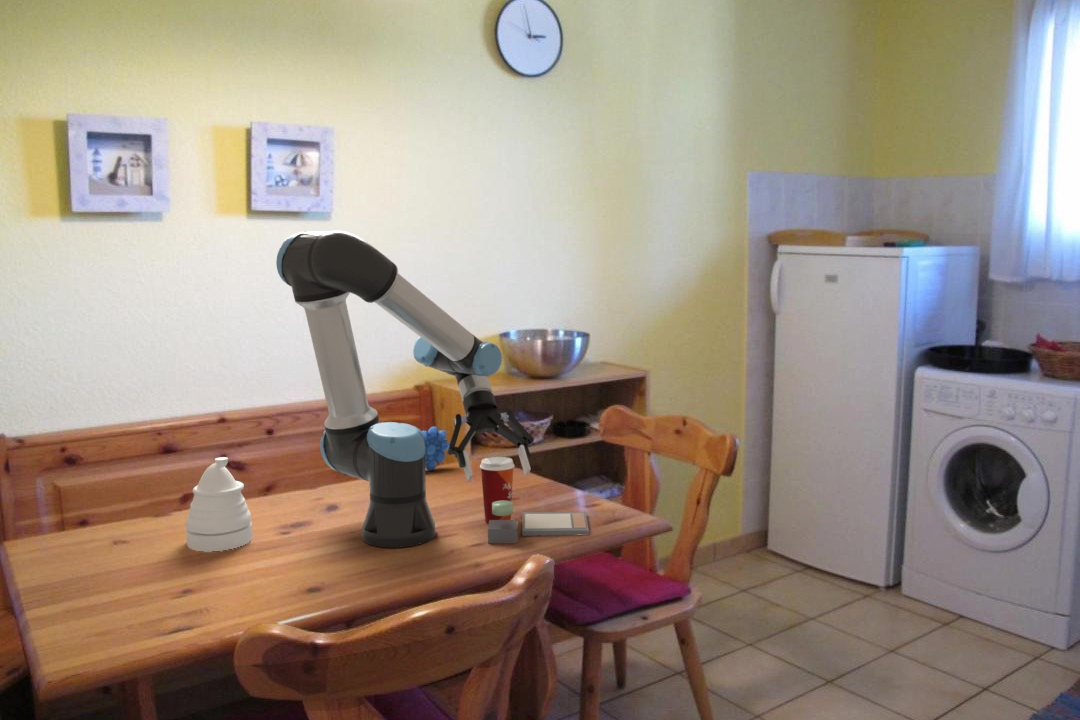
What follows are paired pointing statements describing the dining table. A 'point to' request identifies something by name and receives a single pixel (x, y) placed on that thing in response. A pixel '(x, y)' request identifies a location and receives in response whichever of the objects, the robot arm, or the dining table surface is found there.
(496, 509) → the button
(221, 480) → the honey pot
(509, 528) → the button housing
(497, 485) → the paper cup
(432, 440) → the grapes
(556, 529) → the picture board
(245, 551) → the dining table surface
